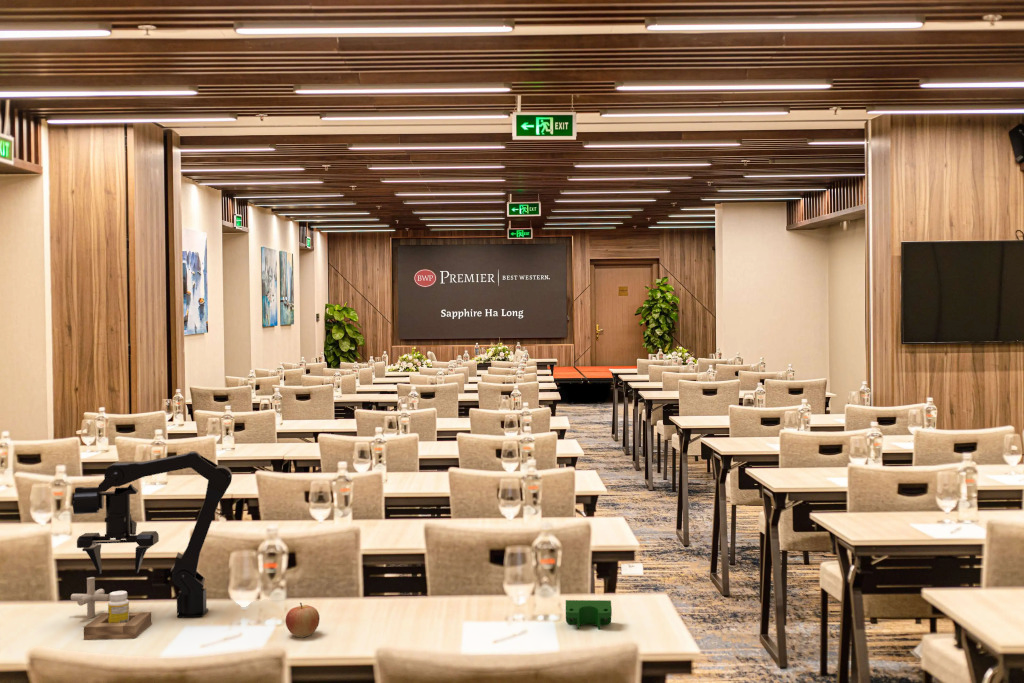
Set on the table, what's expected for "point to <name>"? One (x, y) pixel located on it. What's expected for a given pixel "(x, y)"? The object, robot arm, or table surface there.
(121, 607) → the supplement bottle
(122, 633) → the holder
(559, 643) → the table surface
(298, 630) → the apple
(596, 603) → the clamp
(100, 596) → the pipe connector
